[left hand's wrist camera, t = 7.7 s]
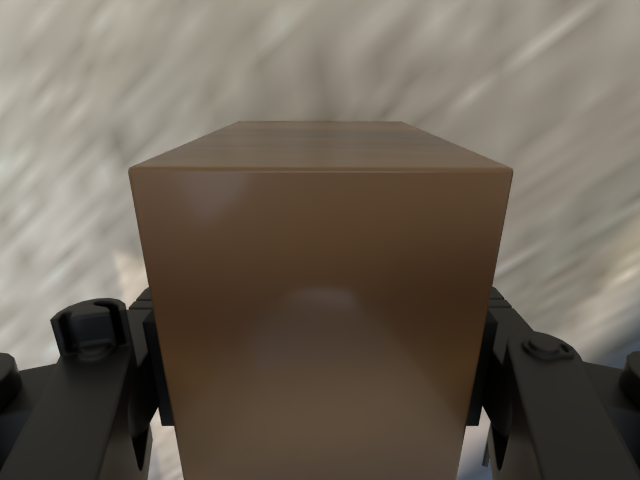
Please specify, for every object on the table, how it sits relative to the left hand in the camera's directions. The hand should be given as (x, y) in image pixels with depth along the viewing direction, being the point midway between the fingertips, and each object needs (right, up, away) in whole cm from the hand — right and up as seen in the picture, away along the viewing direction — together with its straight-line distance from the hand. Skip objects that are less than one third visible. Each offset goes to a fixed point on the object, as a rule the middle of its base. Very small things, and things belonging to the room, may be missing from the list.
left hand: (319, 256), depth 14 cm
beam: (0, -31, +13) cm, 34 cm away
